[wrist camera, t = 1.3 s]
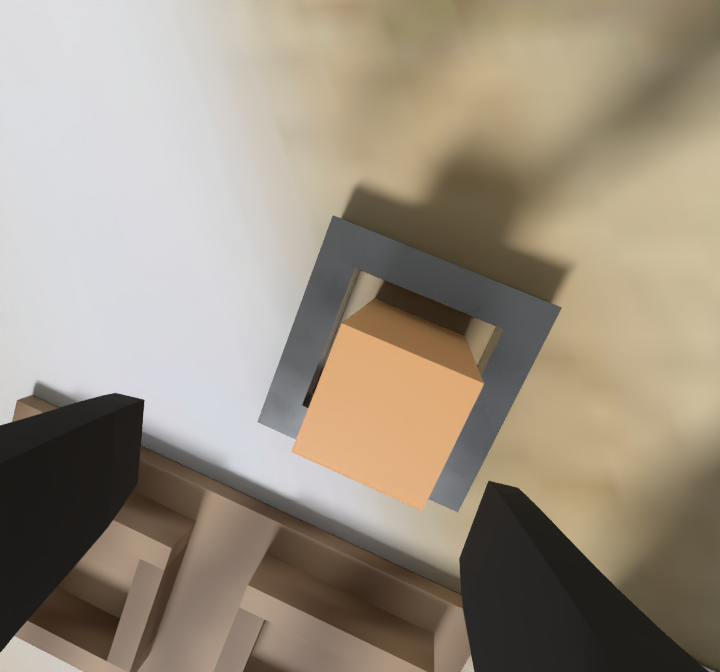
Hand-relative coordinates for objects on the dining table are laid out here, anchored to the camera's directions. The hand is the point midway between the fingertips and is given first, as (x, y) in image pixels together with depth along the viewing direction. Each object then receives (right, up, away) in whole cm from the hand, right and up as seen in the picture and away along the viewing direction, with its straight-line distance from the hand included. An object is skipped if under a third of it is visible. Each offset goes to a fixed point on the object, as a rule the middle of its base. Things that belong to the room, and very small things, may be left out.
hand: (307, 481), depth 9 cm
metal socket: (+3, +2, +10) cm, 10 cm away
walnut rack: (-6, -10, +13) cm, 18 cm away
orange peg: (+3, +2, +10) cm, 10 cm away
